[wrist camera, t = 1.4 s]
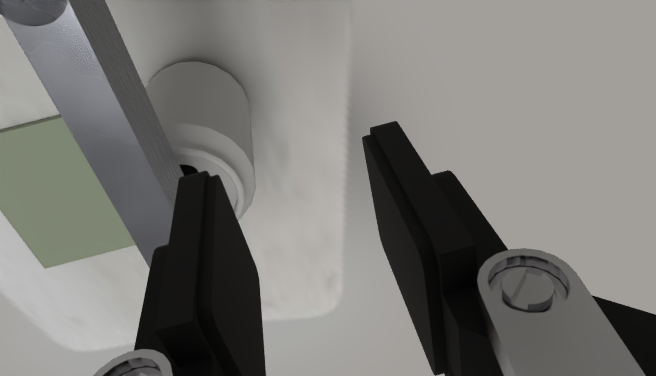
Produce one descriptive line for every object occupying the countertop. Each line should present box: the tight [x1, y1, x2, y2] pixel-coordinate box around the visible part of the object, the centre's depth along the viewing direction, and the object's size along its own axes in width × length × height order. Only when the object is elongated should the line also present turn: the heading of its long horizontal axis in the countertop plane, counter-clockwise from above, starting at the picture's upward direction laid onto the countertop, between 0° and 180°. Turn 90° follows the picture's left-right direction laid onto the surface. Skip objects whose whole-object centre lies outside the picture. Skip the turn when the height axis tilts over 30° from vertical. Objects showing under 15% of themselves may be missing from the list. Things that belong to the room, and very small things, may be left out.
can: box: [145, 61, 256, 220], centre depth 30 cm, size 8×8×12 cm
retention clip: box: [0, 0, 184, 268], centre depth 26 cm, size 22×3×17 cm, turn 12°
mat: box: [0, 115, 136, 269], centre depth 37 cm, size 12×10×1 cm
